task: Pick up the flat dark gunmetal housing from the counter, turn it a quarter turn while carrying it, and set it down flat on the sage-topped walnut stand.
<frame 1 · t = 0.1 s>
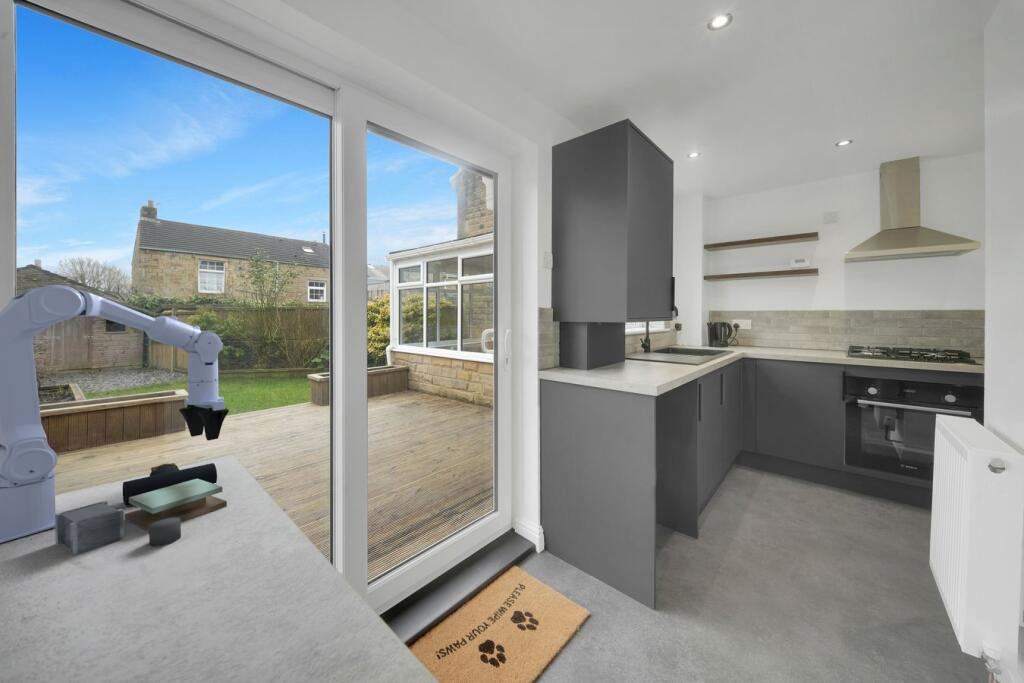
hand: (204, 437, 94), 10 cm above the countertop, tool pointing down, fingers open, 7 cm apart
stand: (177, 512, 77), on the countertop
knob: (165, 540, 66), on the countertop
pipe connector: (168, 492, 88), on the countertop
housing: (90, 541, 66), on the countertop
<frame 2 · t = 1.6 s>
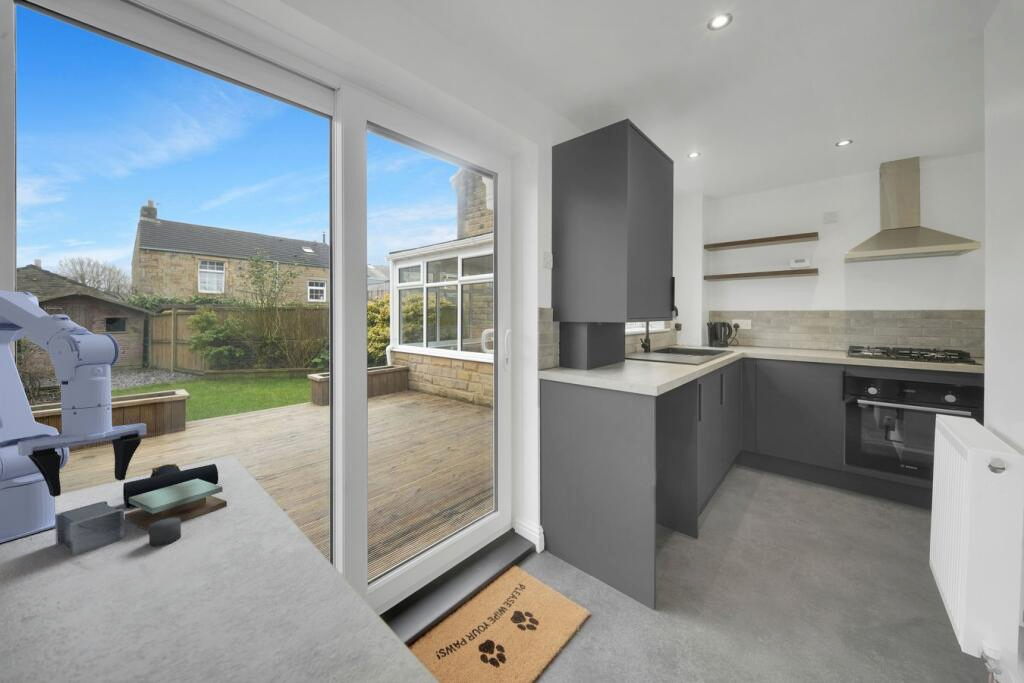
hand: (89, 486, 66), 9 cm above the countertop, tool pointing down, fingers open, 7 cm apart
pipe connector: (169, 493, 88), on the countertop
everything else where it was.
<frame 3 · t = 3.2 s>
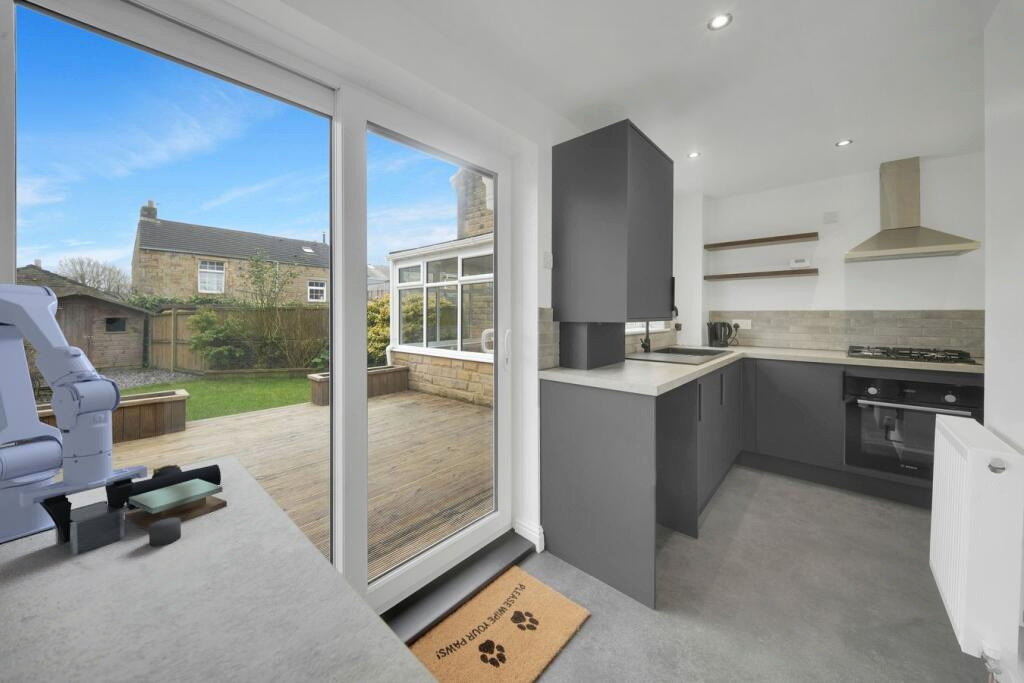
hand: (90, 532, 66), 1 cm above the countertop, tool pointing down, fingers closed on housing, 5 cm apart
pipe connector: (171, 493, 87), on the countertop
housing: (90, 541, 66), on the countertop, touching gripper
everything else where it was.
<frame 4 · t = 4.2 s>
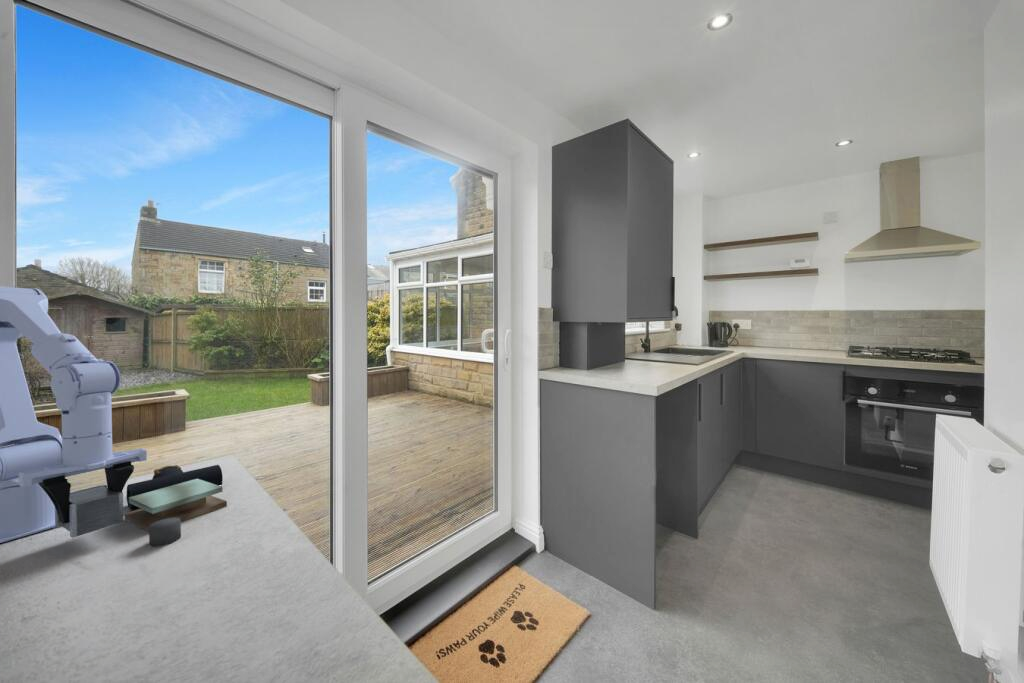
hand: (89, 514, 66), 4 cm above the countertop, tool pointing down, fingers closed on housing, 5 cm apart
housing: (89, 523, 66), point 3 cm above the countertop, touching gripper
when the fingers open (7 cm above the countertop, at t = 6.7 s): housing stays where it is, resting on stand.
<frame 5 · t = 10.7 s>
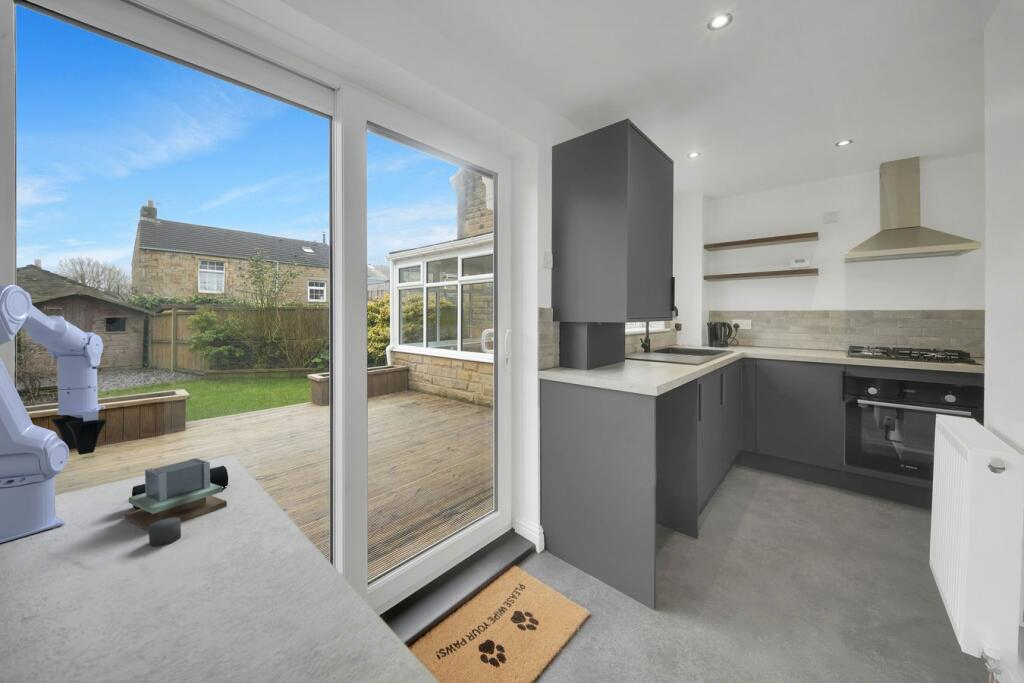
hand: (79, 451, 84), 10 cm above the countertop, tool pointing down, fingers open, 7 cm apart
pipe connector: (178, 496, 86), on the countertop
housing: (178, 491, 77), point 4 cm above the countertop, touching stand
everything else where it was.
at the end: housing inside the target area on the stand (0.3 cm from its centre), point 4.0 cm above the stand's base; housing tilted 0°; the gripper is holding nothing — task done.
